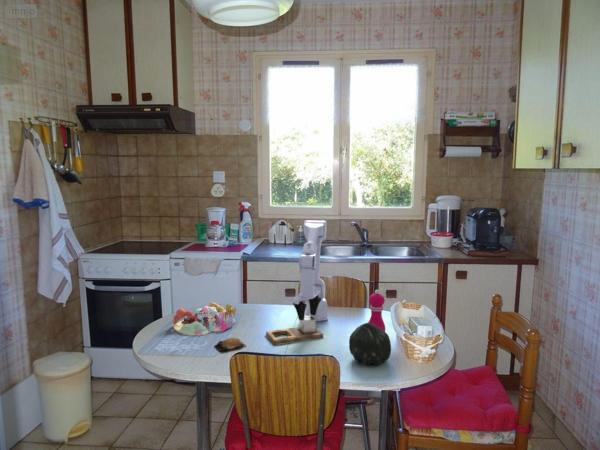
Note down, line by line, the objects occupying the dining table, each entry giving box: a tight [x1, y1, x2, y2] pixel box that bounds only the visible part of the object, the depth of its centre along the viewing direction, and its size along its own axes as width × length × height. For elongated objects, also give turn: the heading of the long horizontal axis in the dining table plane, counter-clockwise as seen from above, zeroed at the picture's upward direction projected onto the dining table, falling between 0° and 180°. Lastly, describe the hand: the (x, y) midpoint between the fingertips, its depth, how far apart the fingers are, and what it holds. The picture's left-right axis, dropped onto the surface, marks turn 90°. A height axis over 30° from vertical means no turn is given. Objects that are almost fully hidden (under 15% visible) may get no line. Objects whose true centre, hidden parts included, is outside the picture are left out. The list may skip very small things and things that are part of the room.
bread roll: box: [213, 337, 247, 354], centre depth 163 cm, size 11×9×4 cm
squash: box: [348, 322, 392, 366], centre depth 150 cm, size 14×15×15 cm
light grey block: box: [298, 315, 316, 335], centre depth 174 cm, size 5×5×7 cm
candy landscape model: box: [172, 302, 237, 337], centre depth 185 cm, size 25×24×9 cm
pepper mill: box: [367, 289, 386, 332], centre depth 169 cm, size 7×7×20 cm
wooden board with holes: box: [265, 326, 324, 346], centre depth 173 cm, size 20×10×2 cm, turn 111°
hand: (307, 317), depth 174 cm, fingers open, 7 cm apart
